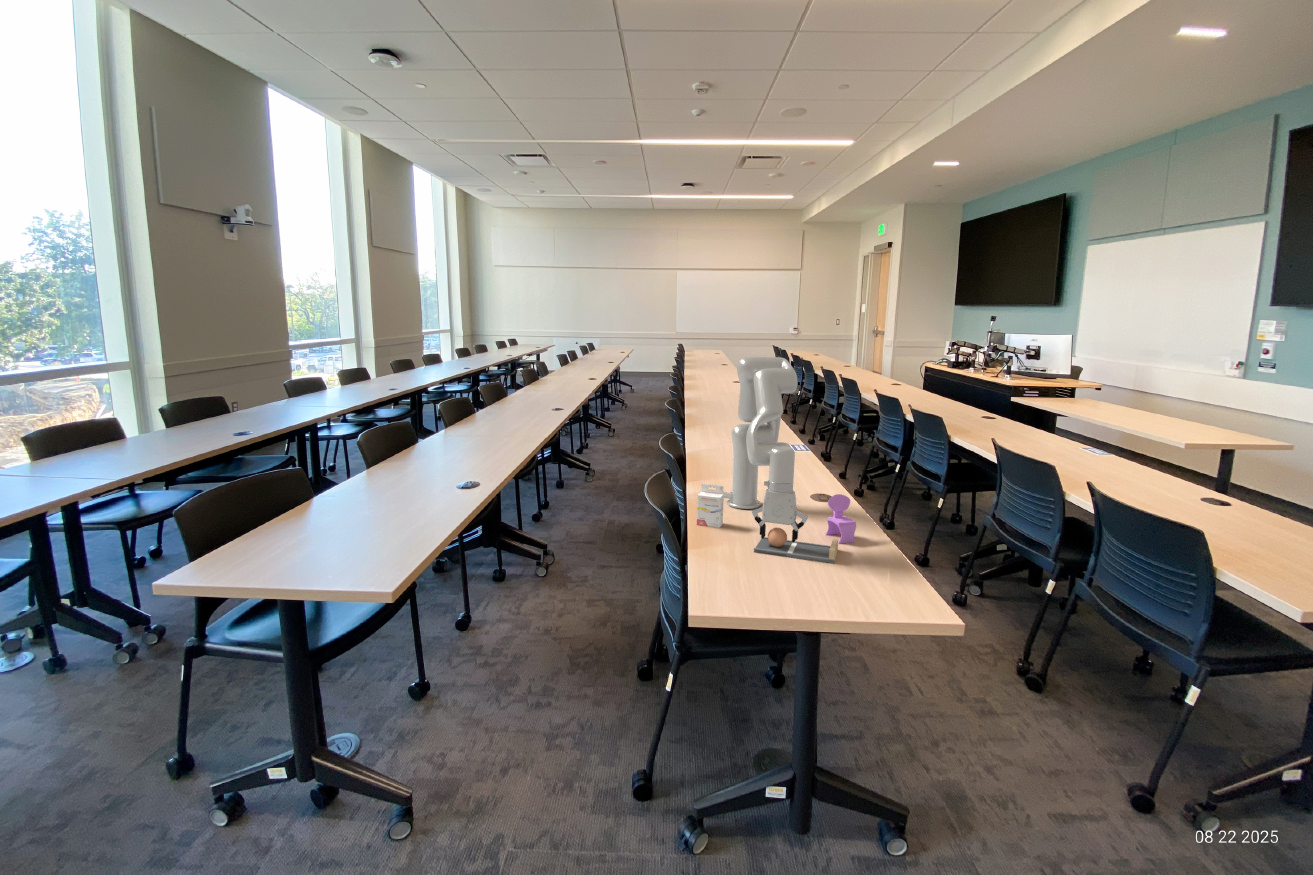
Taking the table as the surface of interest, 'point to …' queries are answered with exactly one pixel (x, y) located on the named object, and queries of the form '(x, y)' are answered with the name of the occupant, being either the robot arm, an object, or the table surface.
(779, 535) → the ball
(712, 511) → the ink cartridge box
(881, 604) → the table surface
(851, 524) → the toy chair
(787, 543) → the lane
